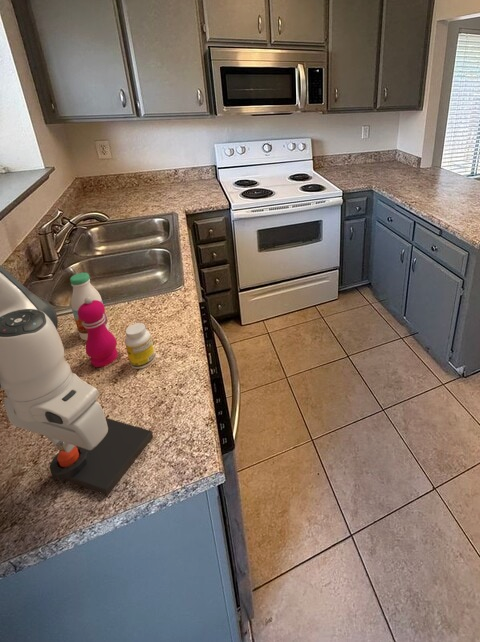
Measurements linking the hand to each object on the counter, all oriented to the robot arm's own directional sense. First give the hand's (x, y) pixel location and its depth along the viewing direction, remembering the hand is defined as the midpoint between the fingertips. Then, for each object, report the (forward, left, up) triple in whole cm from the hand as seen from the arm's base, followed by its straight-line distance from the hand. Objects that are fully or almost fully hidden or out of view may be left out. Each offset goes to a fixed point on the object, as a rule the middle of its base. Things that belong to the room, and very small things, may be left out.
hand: (66, 447), depth 69 cm
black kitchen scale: (+4, +4, -6) cm, 8 cm away
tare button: (0, 0, -3) cm, 3 cm away
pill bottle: (-8, +28, -6) cm, 30 cm away
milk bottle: (-31, +34, -6) cm, 46 cm away
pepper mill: (-19, +26, -6) cm, 33 cm away
